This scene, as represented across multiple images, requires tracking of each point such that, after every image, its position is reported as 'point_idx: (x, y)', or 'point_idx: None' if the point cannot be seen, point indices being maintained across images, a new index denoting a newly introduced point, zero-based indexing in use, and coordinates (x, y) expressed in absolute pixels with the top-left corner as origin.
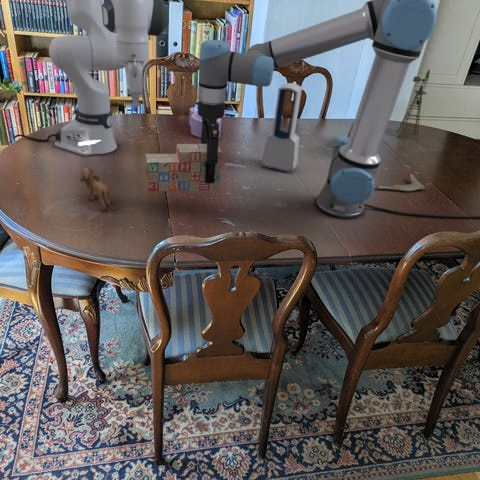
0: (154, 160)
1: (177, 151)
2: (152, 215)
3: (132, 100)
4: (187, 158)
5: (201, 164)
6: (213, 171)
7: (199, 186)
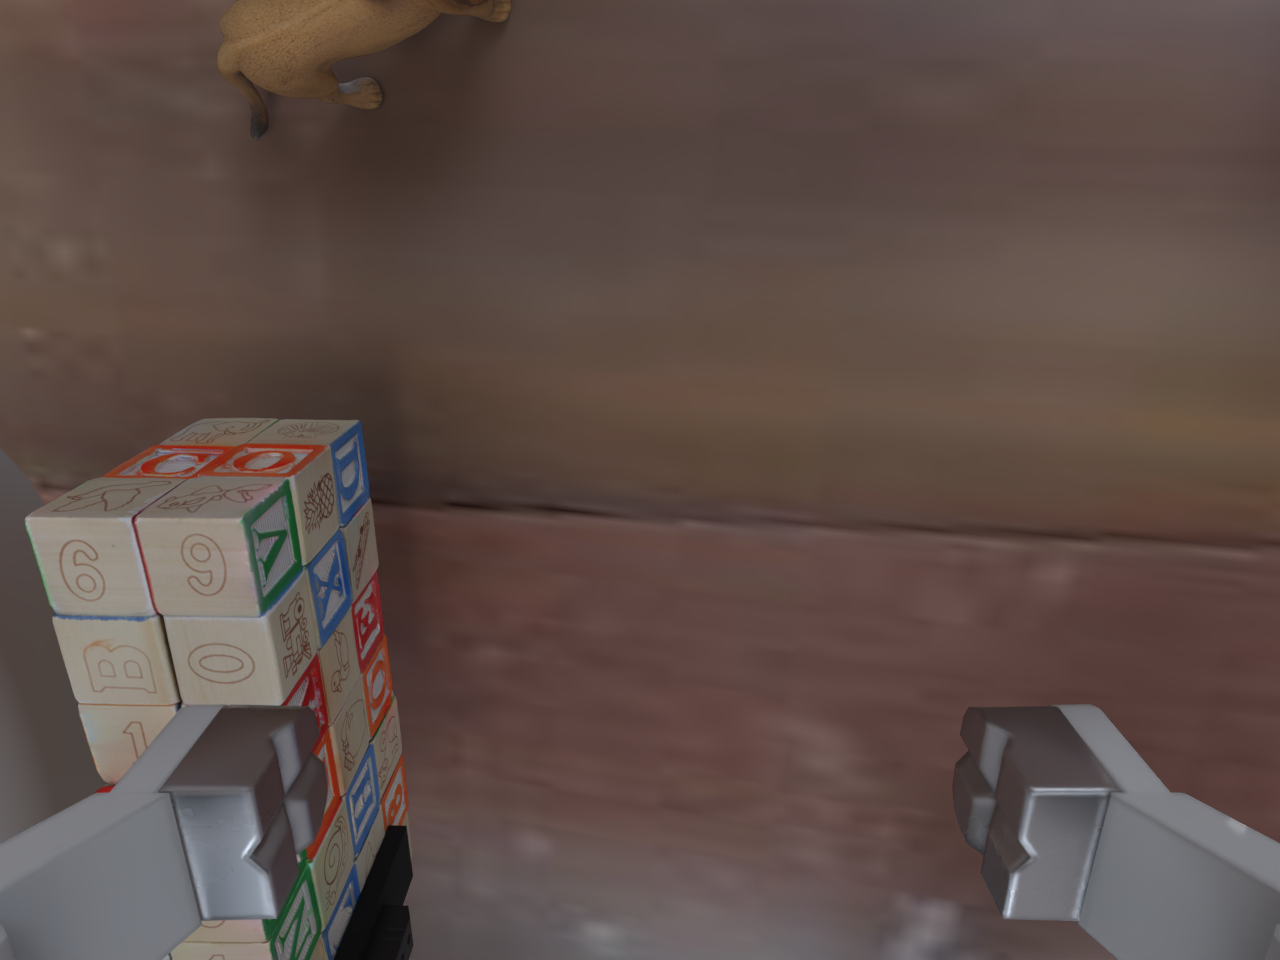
0: (90, 586)
1: None
2: (233, 396)
3: (69, 810)
4: None
5: None
6: None
7: None
